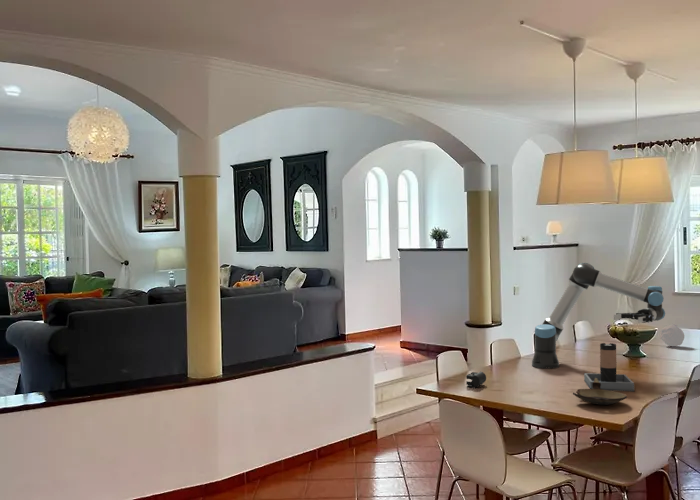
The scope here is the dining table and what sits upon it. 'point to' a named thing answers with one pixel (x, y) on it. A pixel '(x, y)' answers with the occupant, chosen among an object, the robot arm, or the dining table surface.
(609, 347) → the travel mug
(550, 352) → the robot arm
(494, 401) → the dining table surface
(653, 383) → the dining table surface
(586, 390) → the oil lamp
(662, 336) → the decorative ball
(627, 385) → the parts tray
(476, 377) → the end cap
